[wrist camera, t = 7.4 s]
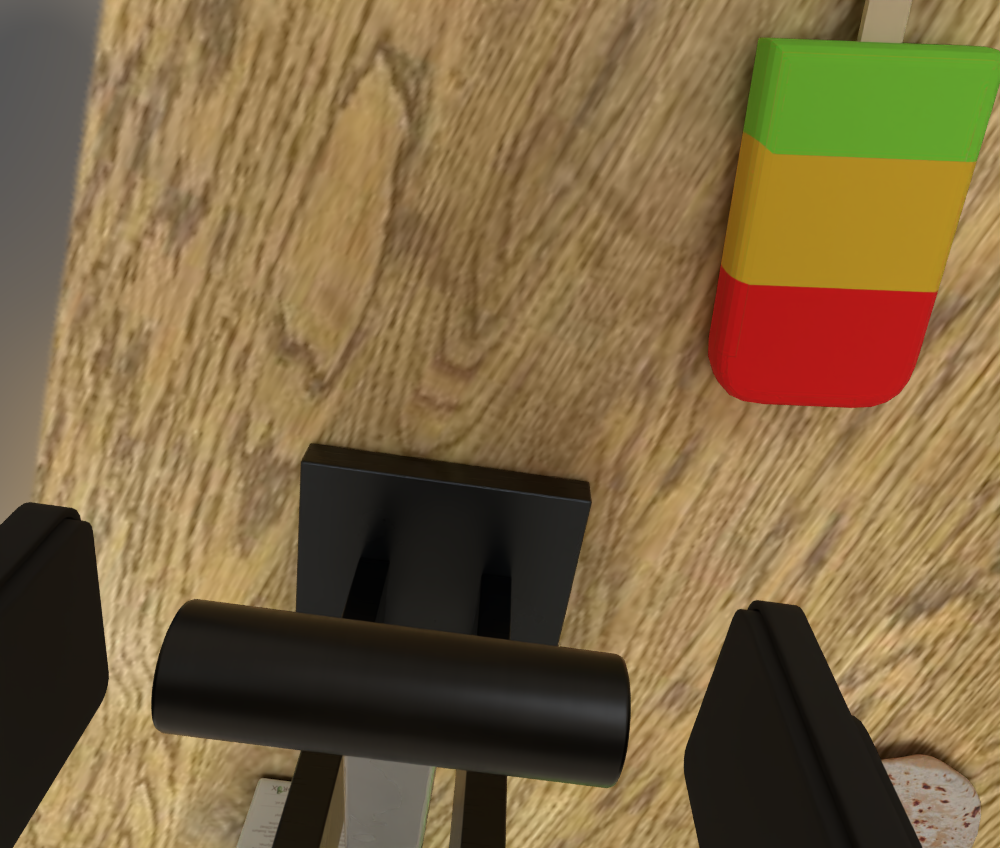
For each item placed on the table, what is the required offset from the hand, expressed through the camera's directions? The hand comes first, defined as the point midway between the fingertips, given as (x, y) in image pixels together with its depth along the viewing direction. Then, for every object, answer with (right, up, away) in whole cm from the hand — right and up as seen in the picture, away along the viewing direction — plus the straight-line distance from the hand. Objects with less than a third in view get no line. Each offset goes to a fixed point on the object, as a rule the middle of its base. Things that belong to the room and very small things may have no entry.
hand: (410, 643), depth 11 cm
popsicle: (+10, +11, +10) cm, 18 cm away
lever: (-1, -4, +4) cm, 5 cm away
